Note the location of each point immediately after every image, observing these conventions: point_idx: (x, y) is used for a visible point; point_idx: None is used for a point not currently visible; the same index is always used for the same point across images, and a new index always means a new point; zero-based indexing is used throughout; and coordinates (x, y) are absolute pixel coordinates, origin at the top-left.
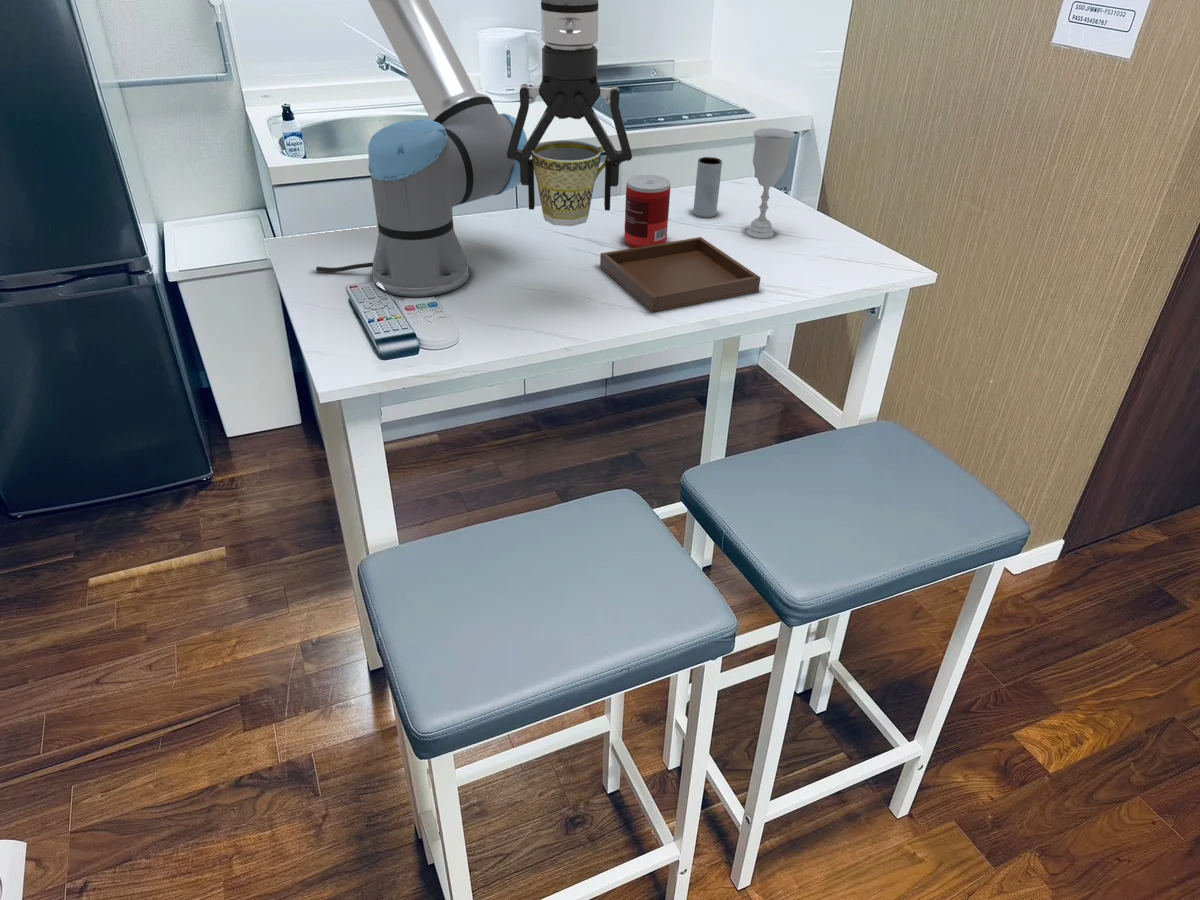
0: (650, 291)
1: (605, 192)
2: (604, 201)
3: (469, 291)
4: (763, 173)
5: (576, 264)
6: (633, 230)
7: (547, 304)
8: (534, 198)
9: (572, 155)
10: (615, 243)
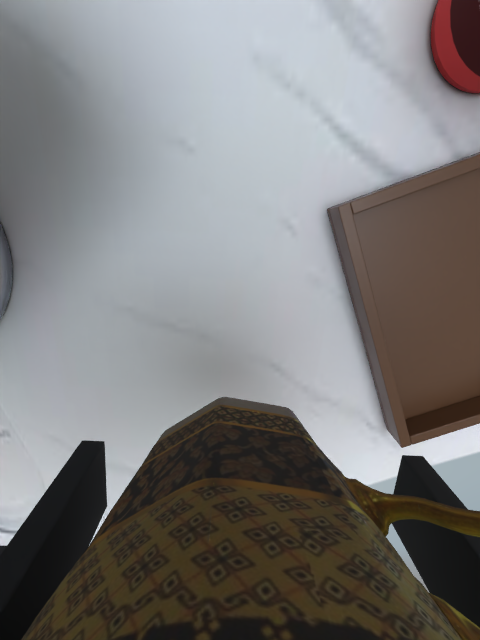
0: (404, 423)
1: (429, 590)
2: (408, 472)
3: (30, 328)
4: None
5: (271, 187)
6: (475, 51)
7: (195, 391)
8: (95, 460)
9: (330, 594)
10: (399, 29)
